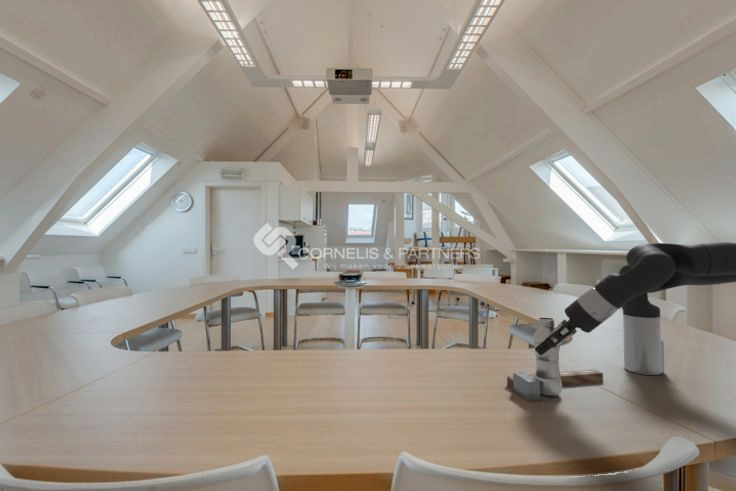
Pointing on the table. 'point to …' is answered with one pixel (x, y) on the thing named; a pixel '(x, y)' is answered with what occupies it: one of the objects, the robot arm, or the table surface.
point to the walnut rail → (572, 377)
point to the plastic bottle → (547, 360)
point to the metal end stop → (526, 386)
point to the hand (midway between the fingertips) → (541, 348)
